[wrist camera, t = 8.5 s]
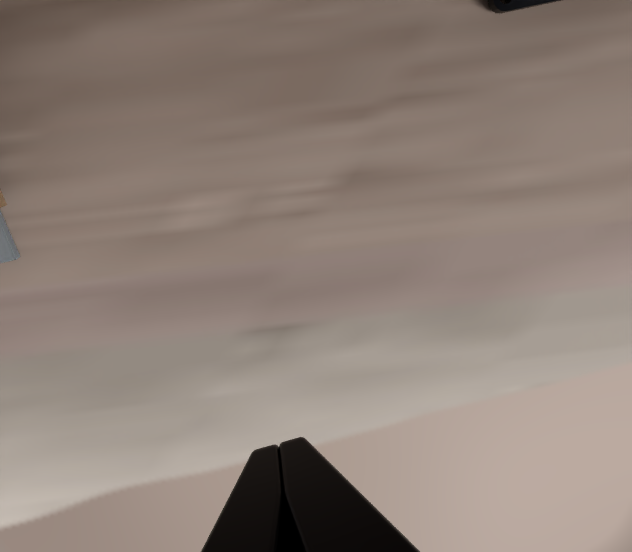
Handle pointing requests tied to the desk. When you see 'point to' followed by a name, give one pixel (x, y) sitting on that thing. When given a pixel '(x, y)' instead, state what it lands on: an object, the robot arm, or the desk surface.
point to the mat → (6, 243)
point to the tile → (2, 200)
